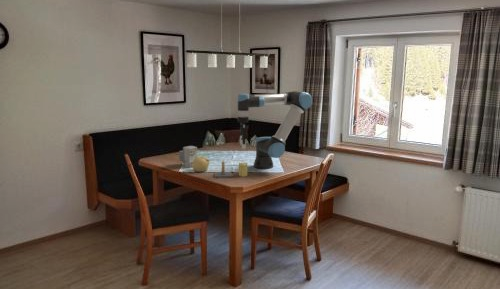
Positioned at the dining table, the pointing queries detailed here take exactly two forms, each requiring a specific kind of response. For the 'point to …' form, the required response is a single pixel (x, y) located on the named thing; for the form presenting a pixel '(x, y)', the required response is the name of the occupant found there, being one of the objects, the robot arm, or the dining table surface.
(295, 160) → the dining table surface
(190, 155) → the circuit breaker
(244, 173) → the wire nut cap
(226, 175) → the grey plate with rod
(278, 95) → the robot arm
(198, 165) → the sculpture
